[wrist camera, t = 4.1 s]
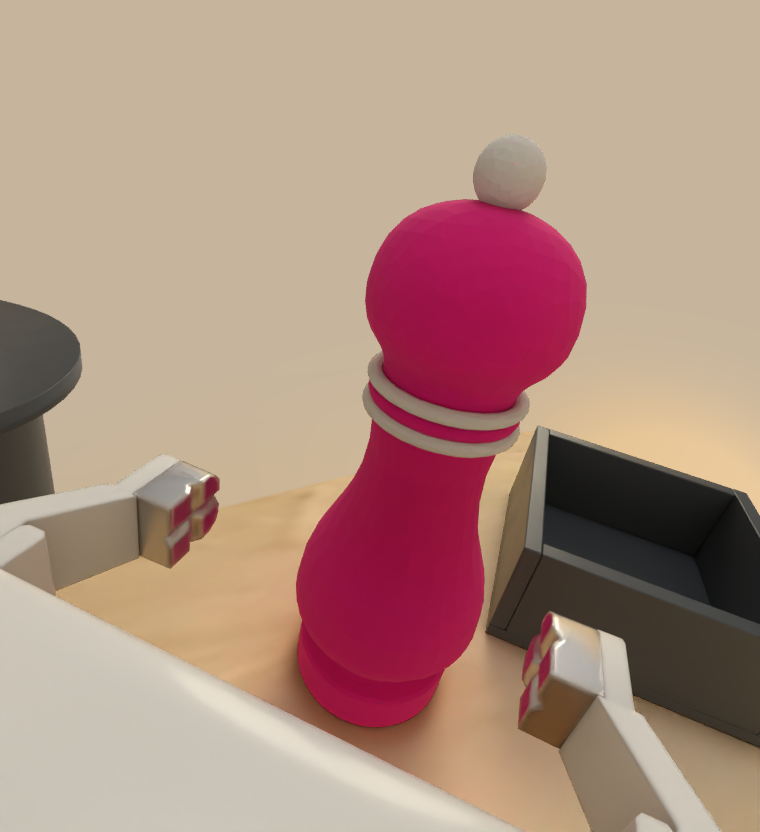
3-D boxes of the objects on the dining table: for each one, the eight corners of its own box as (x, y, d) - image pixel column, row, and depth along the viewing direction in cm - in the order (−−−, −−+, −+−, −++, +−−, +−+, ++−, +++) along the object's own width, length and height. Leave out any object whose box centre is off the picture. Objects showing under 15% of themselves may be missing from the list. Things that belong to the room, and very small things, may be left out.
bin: (485, 632, 24) (524, 547, 21) (509, 492, 34) (537, 424, 32) (768, 751, 21) (853, 672, 18) (699, 560, 32) (746, 493, 29)
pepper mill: (421, 584, 25) (565, 156, 16) (475, 729, 19) (759, 181, 10) (279, 592, 23) (348, 102, 14) (292, 758, 17) (429, 92, 8)
